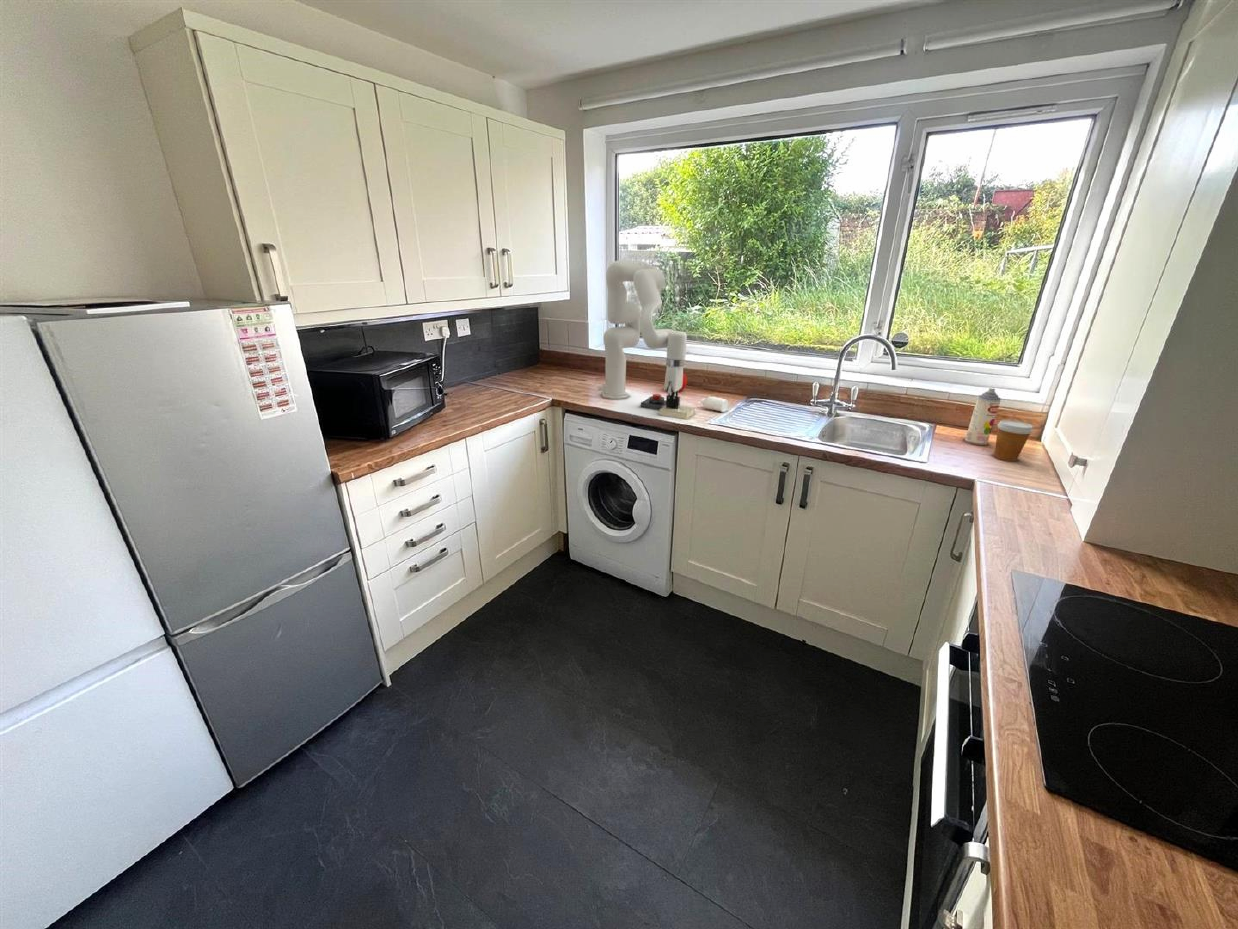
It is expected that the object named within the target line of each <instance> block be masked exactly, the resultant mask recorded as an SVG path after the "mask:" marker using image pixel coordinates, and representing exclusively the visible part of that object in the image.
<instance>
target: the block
mask: <svg viewBox="0 0 1238 929" xmlns="http://www.w3.org/2000/svg"><path fill="white" fill-rule="evenodd" d="M665 405H666V399H665V397H664V396H661V399H653V395H652V396H651V395H650V396H649V397H648V398H646V399H644V400H643V401H641V403H640V408H644V409H651V410H658V411H660V409H661V408H662V407H663V406H665Z"/></svg>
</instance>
